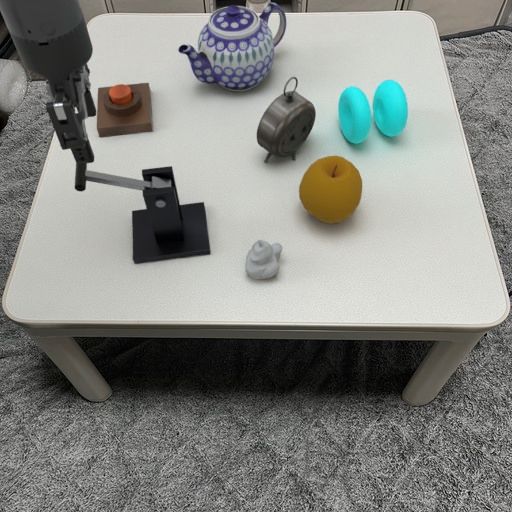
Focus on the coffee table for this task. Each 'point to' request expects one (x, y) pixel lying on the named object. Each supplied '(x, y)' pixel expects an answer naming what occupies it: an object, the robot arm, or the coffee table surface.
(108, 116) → the switch
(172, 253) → the lever base
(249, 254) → the grey swirled lump
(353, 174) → the apple
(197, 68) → the teapot
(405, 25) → the coffee table surface
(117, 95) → the button
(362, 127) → the donuts
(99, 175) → the t-handle lever
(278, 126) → the alarm clock
